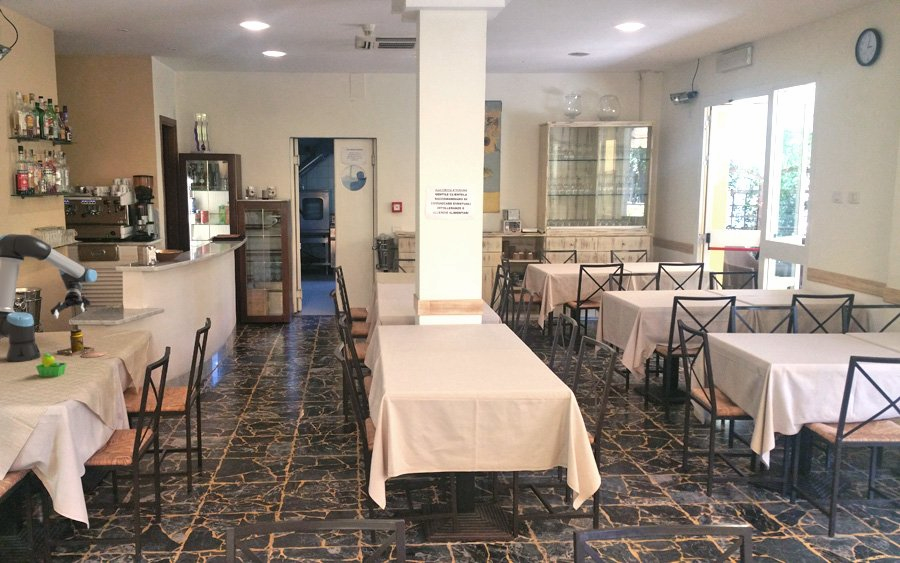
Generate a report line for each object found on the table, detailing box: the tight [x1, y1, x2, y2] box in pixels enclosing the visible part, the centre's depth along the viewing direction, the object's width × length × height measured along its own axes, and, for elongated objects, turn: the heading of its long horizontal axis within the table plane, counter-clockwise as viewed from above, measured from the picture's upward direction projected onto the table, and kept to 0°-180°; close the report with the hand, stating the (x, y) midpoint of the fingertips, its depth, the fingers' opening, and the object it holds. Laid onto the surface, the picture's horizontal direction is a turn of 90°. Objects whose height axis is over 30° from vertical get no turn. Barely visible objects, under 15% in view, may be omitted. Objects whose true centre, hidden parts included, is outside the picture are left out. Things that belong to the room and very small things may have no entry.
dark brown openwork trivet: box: [56, 346, 95, 357], centre depth 399 cm, size 13×12×2 cm
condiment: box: [69, 328, 85, 353], centre depth 398 cm, size 7×8×12 cm
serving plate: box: [81, 350, 108, 358], centre depth 392 cm, size 12×12×1 cm
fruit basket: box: [35, 353, 67, 378], centre depth 352 cm, size 11×9×11 cm
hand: (69, 313), depth 406 cm, fingers open, 13 cm apart
